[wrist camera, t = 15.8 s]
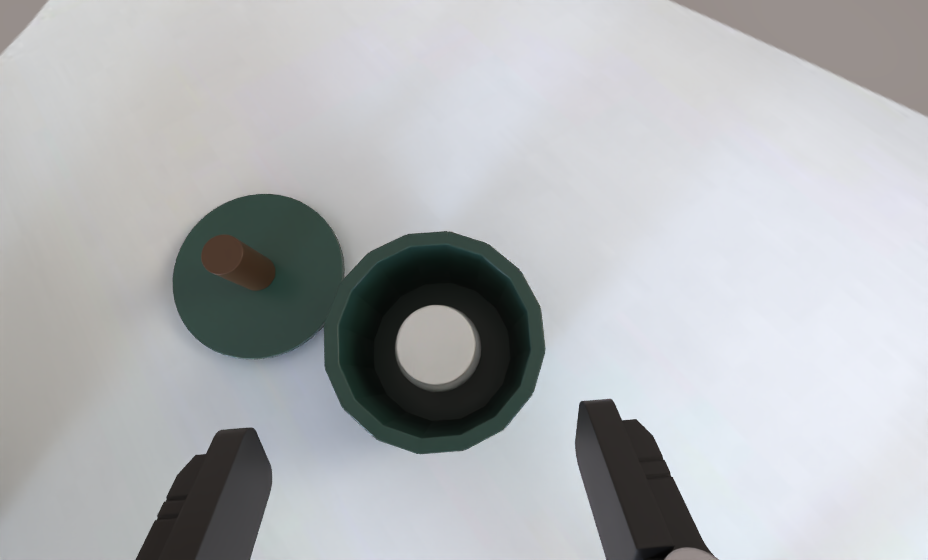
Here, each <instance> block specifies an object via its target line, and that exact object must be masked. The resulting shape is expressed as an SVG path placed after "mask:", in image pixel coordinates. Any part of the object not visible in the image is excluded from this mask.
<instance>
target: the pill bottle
mask: <svg viewBox="0 0 928 560" xmlns="http://www.w3.org/2000/svg"><path fill="white" fill-rule="evenodd" d="M395 355H396V360H397V364H398V366H399V368H400V371H401V372H402V374H403V375H404V376H405V377H406V378H407V379H408V380H409V381H410V382H411V383H412V384H414V385H415V386H417V387H418V388H420V389H423V390H426V391H430V392H445V391H450V390H453V389H456V388H458V387H460V386H461V385H463V384H464V383H465V382H466V381H467V380H468V379H469V378H470V377H471V376H472V375H473V373H474V372H475V371H476V369H477V367H478V365H479V362H480V357H481V341H480V336H479V333H478V331H477V329H476V327H475V325H474V324H473V322H472V321H471V320H470V319H469V318H468V317H467V316H466V315H465V314H464V313H462V312H461V311H459V310H457V309H455V308H452V307H449V306H444V305H430V306H426V307H423V308H420V309H418V310H416V311H415V312H413V313H412V314H410V315H409V316H408V317H407V318H406V319H405V321H404V322H403V324H402V325H401V327H400V329H399V331H398V334H397V337H396V342H395Z"/></svg>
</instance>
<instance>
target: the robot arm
mask: <svg viewBox="0 0 928 560" xmlns="http://www.w3.org/2000/svg"><path fill="white" fill-rule="evenodd" d="M575 449H576V457H577V462H578V466H579V470H580V473H581V476H582V480H583V483H584V486H585V490H586V493H587V496H588V500H589V503H590V506H591V510H592V513H593V516H594V520H595V523H596V526H597V530H598V533H599V537H600V540H601V543H602V547H603V550H604V553H605V557H606V560H719V559H717V558H716V557H715V556H714V555H713V554H712V553H711V552H710V551H709V549H708V548H707V546H706V545H705V543H704V541H703V540H702V538H701V536H700V534H699V531H698V529H697V527H696V525H695V523H694V521H693V519H692V517H691V515H690V513H689V510H688V508H687V506H686V504H685V502H684V500H683V498H682V496H681V494H680V492H679V490H678V487H677V485H676V483H675V481H674V479H673V477H671V475H670V471H669V469H668V466H667V464H666V462H665V460H663V457H662V454H661V452H660V450H659V448H658V445H657V443H656V441H655V439H654V437H653V435H652V434H651V433H650V432H648V431H647V430H646V429H645V428H644V427H643V426H642V425H641V424H640V423H639V422H638V421H637V420H636V419H633V420H621V417H620V415H619V412H618V410H617V408H616V405H615V403H614V402H613V400H612V399H602V400H590V401H581V402H580V404H579V412H578V421H577V429H576V438H575ZM271 486H272V469H271V465H270V463H269V460H268V458H267V456H266V453H265V451H264V449H263V446H262V444H261V442H260V440H259V437H258V435H257V433H256V431H255V429H254V428H239V429H227V430H220V431H218V432H217V433H216V435H215V436H214V438H213V440H212V442H211V445H210V447H209V449H208V451H207V453H206V454H203V455H195V456H194V457H193V458H192V460H191V461H190V462H189V463H188V464H187V465H186V466H185V467H184V468H183V469H182V470H181V472H180V473H179V474H178V475H177V477H176V479H175V481H174V483H173V485H172V487H171V489H170V491H169V493H168V495H167V497H166V498H167V500H166V502H164V503H163V505H162V507H161V509H160V511H159V513H158V515H157V516H158V518H157V520H155V521H154V523H153V525H152V527H151V529H150V531H149V533H148V535H147V538H146V540H145V542H144V544H143V546H142V548H141V550H140V552H139V554H138V556H137V558H136V560H250V558H251V554H252V551H253V548H254V544H255V541H256V538H257V534H258V531H259V528H260V524H261V521H262V518H263V514H264V511H265V508H266V504H267V501H268V498H269V495H270V491H271Z"/></svg>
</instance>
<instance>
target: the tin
mask: <svg viewBox="0 0 928 560" xmlns="http://www.w3.org/2000/svg"><path fill="white" fill-rule="evenodd" d="M430 305H444V306H449V307H452V308H455V309H457V310H459V311H461V312H462V313H464V314H465V315H466V316H467V317H468V318H469V319H470V320H471V321H472V322H473V324H474V325H475V327H476V329H477V331H478V333H479V336H480V341H481V357H480V362H479V365H478V367H477V369H476V371H475V372H474V373H473V375H472V376H471V377H470V378H469V379H468V380H467V381H466V382H465V383H464V384H463V385H461V386H460V387H458V388H456V389H453V390H450V391H445V392H430V391H426V390H423V389H420V388H418V387H417V386H415V385H414V384H412V383H411V382H410V381H409V380H408V379H407V378H406V377H405V376H404V375H403V374H402V372H401V371H400V368H399V366H398V364H397V360H396V355H395V342H396V337H397V334H398V331H399V329H400V327H401V325H402V324H403V322H404V321H405V319H406V318H407V317H408V316H409V315H410V314H412V313H413V312H415V311H416V310H418V309H420V308H423V307H426V306H430ZM544 355H545V340H544V331H543V322H542V313H541V308H540V305H539V303H538V301H537V300H536V298H535V296H534V294H533V292H532V290H531V289H530V287H529V285H528V283H527V281H526V279H525V278H524V276H523V274H522V272H521V271H520V270H519V269H518V268H517V267H516V266H515V265H513V264H512V263H511V262H510V261H509V260H507V259H506V258H505V257H504V256H503V255H501V254H500V253H499V252H498V251H496V250H495V249H494V248H493V247H492V246H490V245H489V244H487V243H484V242H481V241H478V240H475V239H472V238H469V237H465V236H462V235H459V234H456V233H453V232H447V231H444V232H430V233H416V234H408V235H404V236H402V237H400V238H398V239H396V240H394V241H391V242H389V243H387V244H385V245H383V246H381V247H379V248H377V249H375V250H373V251H371V252H370V253H368V254H367V255H366V256H365V257H364V258H363V259H362V260H361V261H360V262H359V263H358V264H357V265H356V266H355V268H354V269H353V270H352V271H351V272H350V273H349V274H348V275H347V276H346V277H345V278H344V279H343V280H342V281H341V283H340V285H339V287H338V289H337V292H336V294H335V297H334V300H333V302H332V305H331V307H330V310H329V312H328V315H327V318H326V320H325V324H324V359H325V370H326V372H327V374H328V377H329V379H330V381H331V383H332V386H333V388H334V390H335V392H336V395H337V397H338V399H339V402H340V404H341V406H342V408H344V410H345V411H346V412H347V413H348V414H349V415H350V416H351V417H352V418H353V419H354V420H355V421H357V422H358V423H359V424H360V425H361V426H362V427H363V428H364V429H365V430H366V431H367V432H368V433H369V434H371V435H372V436H373V437H374V438H376V440H379V441H382V442H385V443H387V444H390V445H393V446H396V447H399V448H402V449H405V450H408V451H411V452H413V453H416V454H429V453H441V452H453V451H463V450H467V449H468V448H470V447H472V446H474V445H476V444H478V443H480V442H482V441H483V440H485V439H487V438H489V437H491V436H493V435H495V434H497V433H498V432H500V431H502V430H504V428H506V427H507V426H508V424H509V423H510V422H511V421H512V419H513V418H514V417H515V416H516V415H517V413H518V412H519V411H520V410H521V408H522V407H523V406H524V405H525V403H526V402H527V401H528V400H529V398H530V397H531V396H532V393H533V392H534V389H535V386H536V382H537V379H538V376H539V372H540V369H541V365H542V362H543V358H544Z"/></svg>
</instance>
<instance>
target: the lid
mask: <svg viewBox="0 0 928 560" xmlns="http://www.w3.org/2000/svg"><path fill="white" fill-rule="evenodd" d="M343 279H344V261H343V255H342V251H341V247H340V245H339V242H338V239H337V237H336V236H335V234H334V232H333V230H332V229H331V227H330V226H329V225H328V224H327V222H326V221H325V220H324V219H323V218H322V217H321V216H320V215H319V214H318V213H317V212H316V211H314V210H313V209H312V208H310V207H309V206H307V205H305V204H304V203H302V202H300V201H297V200H295V199H292V198H289V197H285V196H281V195H274V194H256V195H248V196H244V197H240V198H237V199H234V200H232V201H229V202H227V203H225V204H223V205H221V206H219V207H217V208H216V209H214V210H213V211H211V212H210V213H208V214H207V215H206V216H205V217H204V218H203V219H201V220H200V221H199V222H198V224H197V225H196V226H195V227H194V228H193V229H192V230H191V232H190V233H189V235H188V236H187V237H186V239H185V241H184V243H183V245H182V246H181V248H180V251H179V253H178V256H177V259H176V263H175V267H174V273H173V294H174V300H175V304H176V307H177V310H178V313H179V315H180V317H181V319H182V321H183V322H184V324H185V325H186V327H187V328H188V330H189V331H190V332H191V333H192V334H193V335H194V337H195V338H196V339H198V340H199V341H200V342H201V343H203V344H204V345H205V346H207V347H209V348H210V349H212V350H214V351H216V352H218V353H221V354H223V355H227V356H231V357H234V358H242V359H264V358H271V357H274V356H278V355H282V354H284V353H287V352H289V351H292V350H294V349H295V348H297V347H299V346H301V345H302V344H304V343H305V342H307V341H308V340H309V339H311V338H312V337H313V336H314V335H315V334H316V333H317V332H318V331H319V330H320V329H321V328H322V327H323V326H324V324H325V320H326V318H327V315H328V312H329V310H330V307H331V305H332V302H333V300H334V297H335V294H336V292H337V289H338V287H339V285H340V283H341V281H342V280H343Z"/></svg>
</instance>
